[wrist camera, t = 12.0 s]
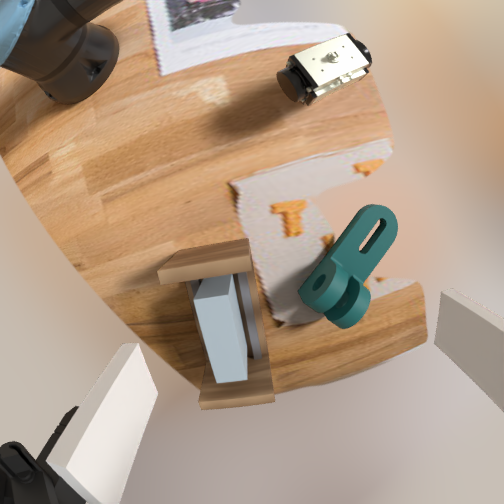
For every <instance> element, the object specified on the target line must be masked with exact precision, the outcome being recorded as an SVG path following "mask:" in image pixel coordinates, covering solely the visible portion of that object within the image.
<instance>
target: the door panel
mask: <svg viewBox="0 0 504 504" xmlns="http://www.w3.org/2000/svg"><path fill="white" fill-rule="evenodd" d="M194 304H195V308H196V312H197V316H198V320H199V323H200V327H201V331H202V334H203V338H204V342H205V345H206V349H207V352H208V356H209V359H210V362H211V366H212V369H213V372H214V376H215V379H216V382H217V383H225V382H233V381H242V380H247V342H246V338H245V333H244V328H243V323H242V318H241V313H240V309H239V304H238V299H237V294H236V289H235V284H234V279H233V274H228V275H222V276H216V277H210V278H204V279H203V281H202V283H201V285H200V287H199V289H198V291H197V293H196V295H195V298H194Z"/></svg>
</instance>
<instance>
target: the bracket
mask: <svg viewBox="0 0 504 504" xmlns="http://www.w3.org/2000/svg"><path fill="white" fill-rule="evenodd" d="M378 220H380V225H379V226H378V228H377V229H376V230H375V232H374V233H373V235H372V236H371V237H370V239H369V240H368V242H367V243H366V244H365V246H364V247H363V248H362V250H360V251H359V246H360V245H361V243H362V242H363V241H364V239H365V238H366V236H367V235H368V234H369V232H370V231H371V230H372V228H373V227H374V225H375V224H376V222H377V221H378ZM397 231H398V224H397V219H396V217H395V215H394V213H393V212H392V211H391V210H390V209H389V208H387V207H385V206H382V205H374V204H371V205H366V206H364V207H362V208H361V209H360V210H359V211H358V212H357V213H356V215H355V216H354V218H353V219H352V220H351V222H350V223H349V225H348V226H347V227H346V229H345V230H344V231H343V233H342V234H341V235H340V237H339V238H338V239H337V241H336V242H335V244H334V245H333V247H332V248H331V249H330V251H329V252H328V253H327V255H326V256H325V257H324V258H323V260H322V261H321V262H320V264H319V265H318V266H317V267H316V269H315V270H314V271H313V273H312V274H311V275H310V276H309V278H308V279H307V280H306V281H305V283H304V284H303V285H302V286H301V288H300V289H299V290H298V293H299V295H300V297H301V299H302V300H303V302H304V303H305V304H306V305H308V306H309V307H310V308H312V309H313V310H315V311H316V312H318V313H324V314H325V316H326V318H327V319H328V320H329V321H331V322H332V323H334V324H335V325H336V326H338V327H339V328H341V329H347V328H349V327H351V326H353V325H355V324H356V323H357V322H358V321H359V320H360V319H361V318H362V317H363V315H364V314H365V312H366V311H367V309H368V306H369V304H370V299H371V295H370V291H369V290H368V289H367V288H366V287H365V286H363V283H364V281H365V280H366V279H367V277H368V276H369V275H370V273H371V272H372V271H373V269H374V268H375V267H376V266H377V264H378V263H379V261H380V260H381V259H382V257H383V256H384V255H385V253H386V252H387V250H388V249H389V248H390V246H391V245H392V243H393V242H394V240H395V238H396V236H397Z"/></svg>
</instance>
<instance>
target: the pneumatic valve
mask: <svg viewBox="0 0 504 504" xmlns="http://www.w3.org/2000/svg"><path fill="white" fill-rule="evenodd" d="M286 64H287V65H286V68H284V69H282V70H280V71H278V72H277V80H278V82H279V84H280V86H281V88H282V90H283V91H284V93H285V94H286V95H287V96H288V97H289V98H290V99H291V100H292V101H294V102H298V101H301V102H302V103H303V105H304V104H307V106H309V105H311V104H313V103H315V102H317V101H319V100H320V99H322V98H324V97H326V96H328V95H330V94H332V93H334V92H336V91H338V90H340V89H342V88H344V87H347V86H349V85H351V84H353V83H355V82H357V81H359V80H361V79H362V78H363V77H364V76H365V75H367V74H368V73H369V71H368V70H367V68H369V67H370V66H371V64H372V58H371V55H370V53H369V51H368V49H367V48H366V47H365V45H363V43H361V42H360V41H358V40H355V39H354V38H353V37H352V36H351V35H350V33H347V34H344V35H341V36H339V37H336V38H333V39H330V40H328V41H325V42H323V43H320V44H318V45H315V46H313V47H310V48H308V49H306V50H303V51H301V52H299V53H296V54H294V55H292V56H290V57H289V59H288V62H286Z"/></svg>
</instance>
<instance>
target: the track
mask: <svg viewBox="0 0 504 504" xmlns="http://www.w3.org/2000/svg"><path fill="white" fill-rule="evenodd" d="M157 273H158V277H159V281H160V285H165V284H171V283H178V282H184V281H185V283H186V288H187V292H188V296H189V300H190V304H191V307H192V311H193V315H194V319H195V322H196V326H197V330H198V333H199V337H200V341H201V344H202V347H203V351H204V354H205V358H206V361H207V363H206V367H205V372H204V377H203V382H202V386H201V391H200V396H199V401H198V402H199V405H200V407H201V410H208V409H222V408H233V407H242V406H251V405H259V404H265V403H272V402H275V397H274V389H273V382H272V375H271V367H270V360H269V354H268V348H267V342H266V337H265V331H264V325H263V320H262V314H261V308H260V302H259V297H258V291H257V285H256V279H255V274H254V268H253V262H252V256H251V251H250V245H249V239H248V238H246V239H240V240H234V241H229V242H223V243H217V244H211V245H206V246H200V247H194V248H189V249H183V250H179V251H178V252H177V253H176V254H175V255H174V256H173V257H172V258H171V259H170V260H168V261H167V262H166V263H165V264H164V265H163V266H162V267H161V268H160V269H159V270H158V271H157ZM228 274H233V279H234V284H235V289H236V294H237V299H238V304H239V309H240V313H241V318H242V323H243V328H244V333H245V338H246V342H247V380H242V381H233V382H225V383H217V382H216V379H215V376H214V372H213V369H212V366H211V362H210V359H209V356H208V352H207V349H206V345H205V342H204V338H203V334H202V331H201V327H200V323H199V320H198V316H197V312H196V308H195V304H194V298H195V295H196V293H197V291H198V289H199V287H200V285H201V283H202V281H203V279H204V278H210V277H216V276H222V275H228Z"/></svg>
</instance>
